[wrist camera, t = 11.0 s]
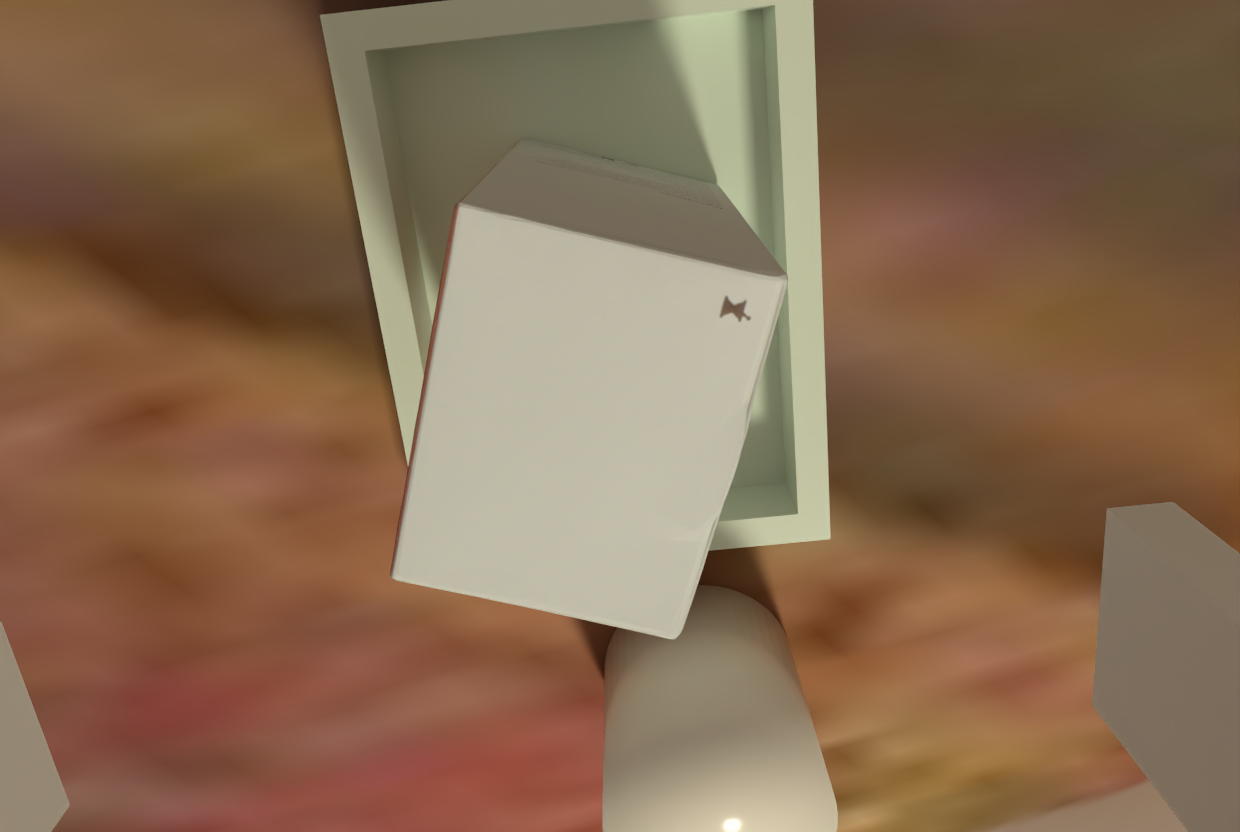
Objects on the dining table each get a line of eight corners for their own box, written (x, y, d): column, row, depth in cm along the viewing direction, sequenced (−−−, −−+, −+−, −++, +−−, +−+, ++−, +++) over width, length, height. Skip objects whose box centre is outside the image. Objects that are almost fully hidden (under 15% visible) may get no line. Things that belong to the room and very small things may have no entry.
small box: (519, 132, 29) (452, 189, 17) (724, 182, 30) (801, 272, 18) (470, 383, 32) (383, 587, 20) (659, 424, 32) (687, 648, 20)
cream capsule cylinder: (614, 751, 38) (615, 923, 30) (594, 594, 35) (589, 739, 28) (795, 735, 38) (840, 904, 30) (787, 576, 35) (834, 717, 28)
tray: (444, 535, 35) (429, 577, 32) (348, 18, 29) (319, 14, 26) (812, 498, 34) (830, 539, 31) (791, -32, 28) (811, -41, 25)
